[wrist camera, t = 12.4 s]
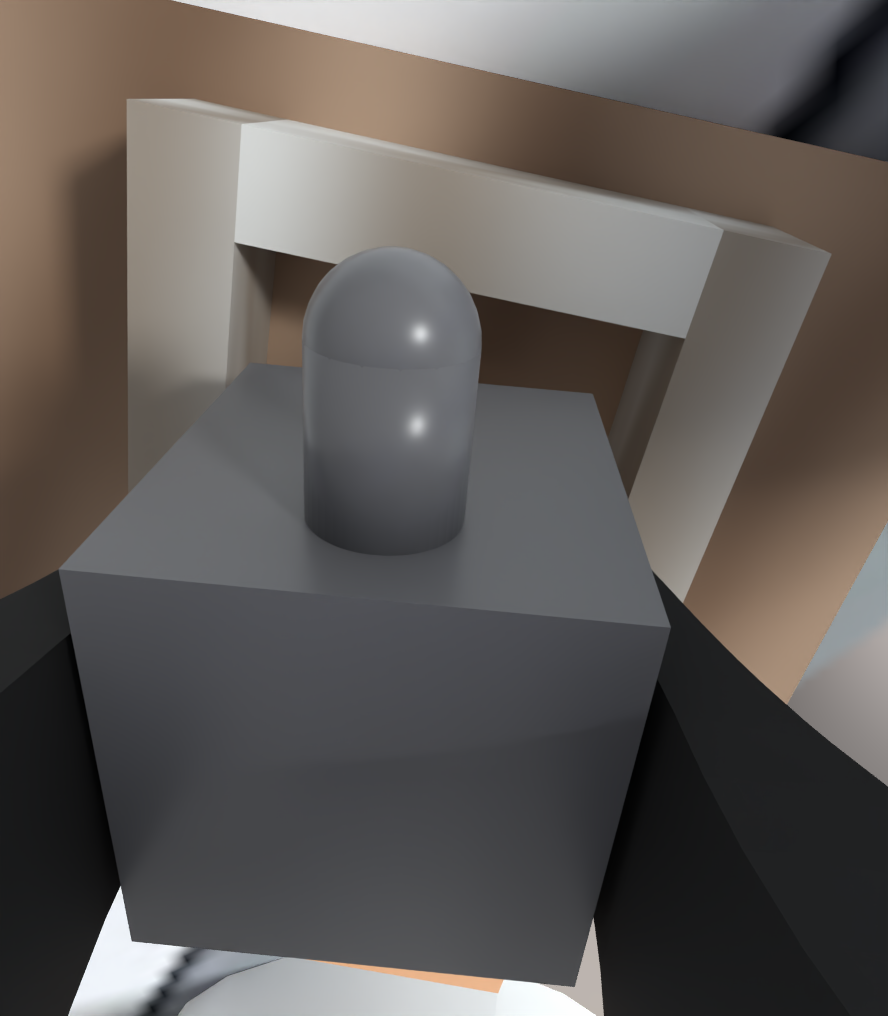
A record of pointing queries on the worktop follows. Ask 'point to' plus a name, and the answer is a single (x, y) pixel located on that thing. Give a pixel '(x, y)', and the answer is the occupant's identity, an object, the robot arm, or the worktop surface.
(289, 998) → the cylinder
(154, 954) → the worktop surface
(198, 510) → the plug
